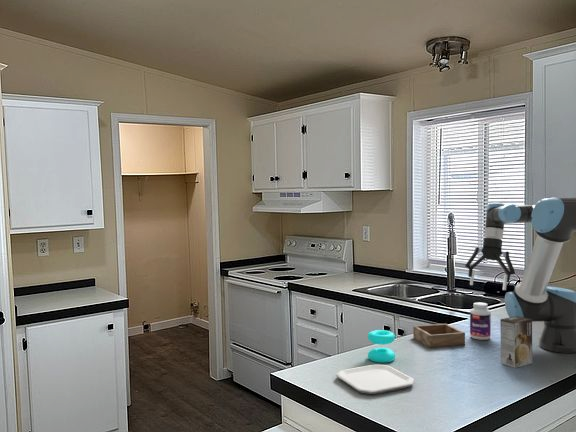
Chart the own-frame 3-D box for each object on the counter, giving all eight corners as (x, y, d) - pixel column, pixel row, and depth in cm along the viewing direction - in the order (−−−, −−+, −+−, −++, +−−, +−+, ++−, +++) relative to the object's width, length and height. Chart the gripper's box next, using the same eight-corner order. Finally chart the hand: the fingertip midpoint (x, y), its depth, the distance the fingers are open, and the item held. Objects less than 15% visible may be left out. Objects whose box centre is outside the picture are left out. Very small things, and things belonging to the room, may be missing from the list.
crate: (465, 345, 208) (465, 332, 208) (430, 348, 205) (430, 335, 205) (446, 335, 223) (446, 323, 223) (413, 337, 220) (413, 326, 220)
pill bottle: (469, 339, 216) (469, 305, 215) (470, 334, 223) (470, 301, 223) (490, 341, 213) (490, 306, 212) (490, 336, 220) (490, 302, 220)
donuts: (399, 335, 189) (373, 337, 187) (399, 362, 189) (373, 364, 187) (388, 328, 198) (363, 330, 196) (388, 354, 199) (364, 356, 197)
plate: (364, 400, 157) (364, 392, 157) (331, 378, 176) (331, 371, 175) (420, 388, 165) (420, 381, 165) (383, 368, 184) (383, 362, 184)
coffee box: (517, 359, 191) (517, 315, 190) (532, 364, 185) (533, 319, 184) (499, 363, 186) (499, 318, 186) (515, 368, 181) (515, 322, 180)
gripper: (520, 243, 228) (515, 292, 226) (461, 235, 232) (456, 283, 230) (526, 242, 221) (520, 292, 218) (465, 233, 224) (459, 282, 222)
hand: (487, 287), depth 224 cm, fingers open, 13 cm apart
